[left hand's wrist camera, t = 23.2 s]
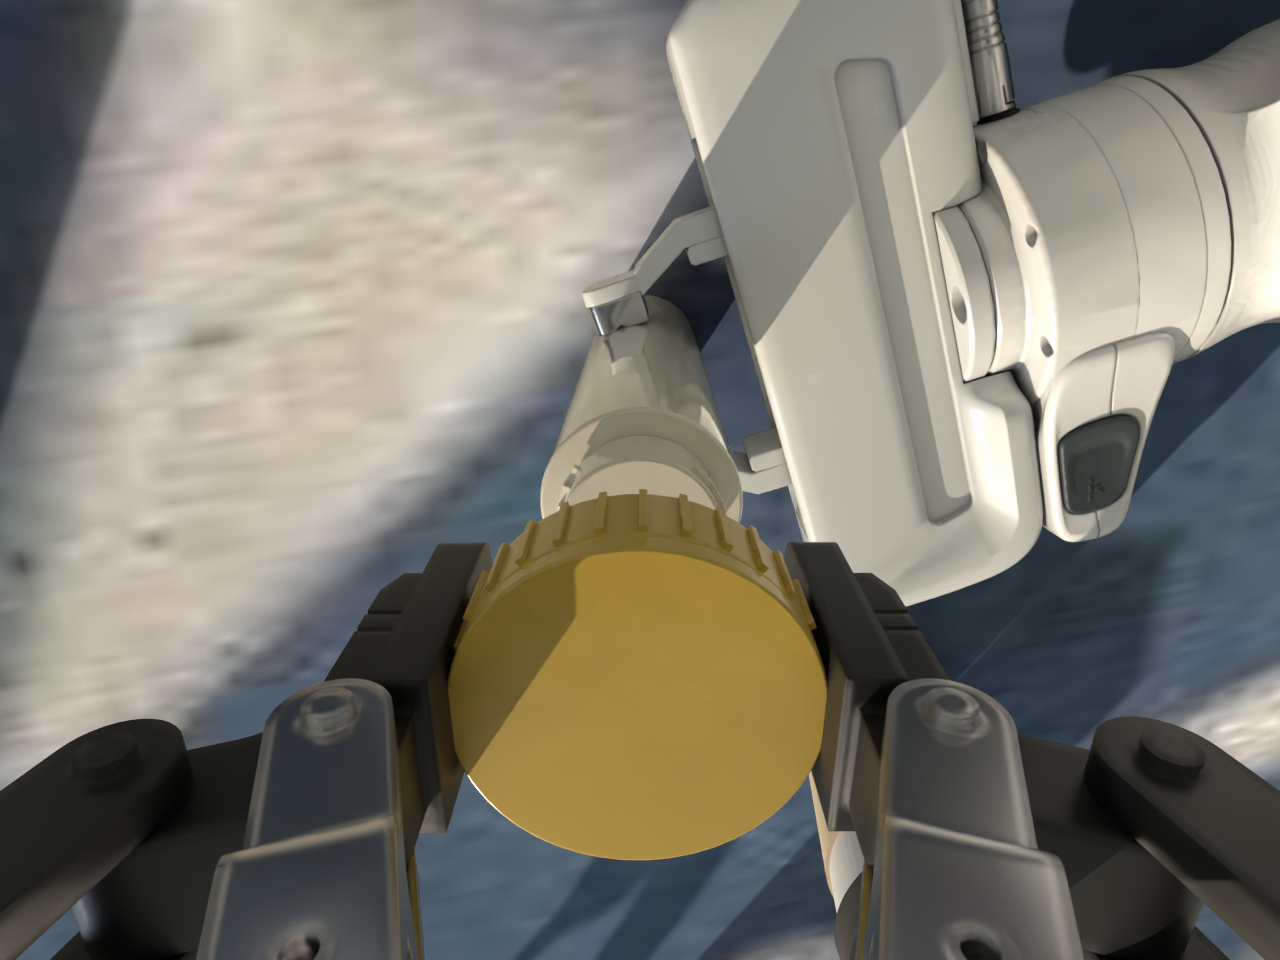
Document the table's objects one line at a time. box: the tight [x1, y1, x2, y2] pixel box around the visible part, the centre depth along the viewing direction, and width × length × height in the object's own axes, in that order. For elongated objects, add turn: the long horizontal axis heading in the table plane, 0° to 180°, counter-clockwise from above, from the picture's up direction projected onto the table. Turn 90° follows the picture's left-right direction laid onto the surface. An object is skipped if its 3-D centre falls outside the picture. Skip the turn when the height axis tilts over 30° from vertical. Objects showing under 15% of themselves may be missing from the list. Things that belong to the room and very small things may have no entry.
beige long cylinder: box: [540, 295, 743, 523], centre depth 23 cm, size 4×4×18 cm
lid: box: [448, 489, 827, 860], centre depth 10 cm, size 5×5×2 cm
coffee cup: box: [809, 771, 864, 960], centre depth 30 cm, size 9×9×15 cm
